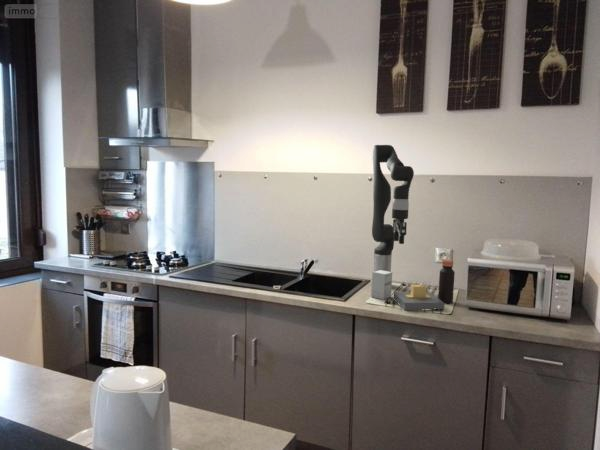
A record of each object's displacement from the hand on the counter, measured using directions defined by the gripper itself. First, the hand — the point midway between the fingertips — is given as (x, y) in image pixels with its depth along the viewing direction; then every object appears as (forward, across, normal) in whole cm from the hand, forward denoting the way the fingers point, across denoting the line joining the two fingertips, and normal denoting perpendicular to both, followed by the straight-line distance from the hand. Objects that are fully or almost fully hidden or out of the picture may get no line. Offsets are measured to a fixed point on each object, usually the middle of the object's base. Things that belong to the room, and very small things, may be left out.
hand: (398, 242), depth 224 cm
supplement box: (+28, +5, +6) cm, 29 cm away
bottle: (+28, -4, -23) cm, 37 cm away
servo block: (+28, -8, -8) cm, 30 cm away
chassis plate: (+28, -8, -8) cm, 30 cm away
